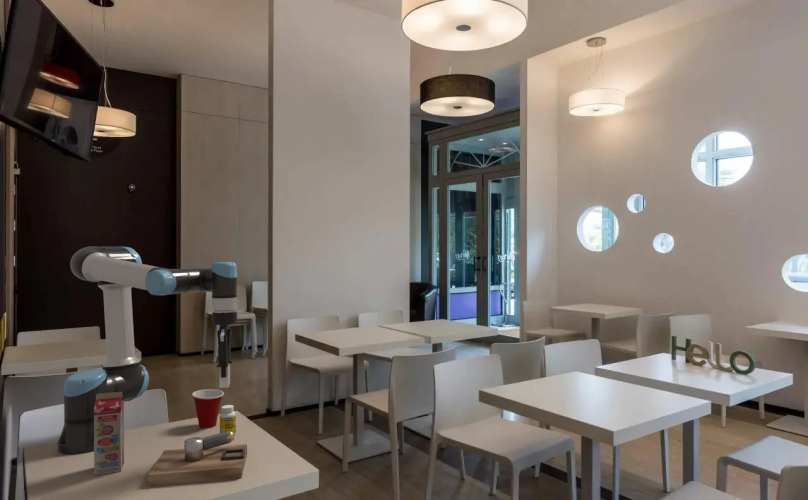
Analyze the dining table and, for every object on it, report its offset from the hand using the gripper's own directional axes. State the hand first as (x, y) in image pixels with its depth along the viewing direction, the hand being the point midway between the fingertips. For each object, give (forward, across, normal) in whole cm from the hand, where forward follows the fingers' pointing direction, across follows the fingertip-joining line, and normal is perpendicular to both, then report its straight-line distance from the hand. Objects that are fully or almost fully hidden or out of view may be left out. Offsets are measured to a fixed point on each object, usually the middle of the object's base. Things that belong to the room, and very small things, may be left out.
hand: (224, 385), depth 166 cm
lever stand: (+21, -12, +5) cm, 25 cm away
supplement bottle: (+21, +16, +1) cm, 26 cm away
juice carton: (+21, -7, +31) cm, 38 cm away
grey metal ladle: (+17, -10, +3) cm, 20 cm away
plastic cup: (+21, +27, +9) cm, 35 cm away
